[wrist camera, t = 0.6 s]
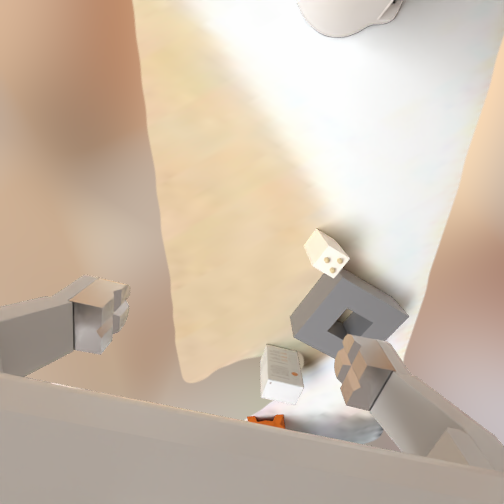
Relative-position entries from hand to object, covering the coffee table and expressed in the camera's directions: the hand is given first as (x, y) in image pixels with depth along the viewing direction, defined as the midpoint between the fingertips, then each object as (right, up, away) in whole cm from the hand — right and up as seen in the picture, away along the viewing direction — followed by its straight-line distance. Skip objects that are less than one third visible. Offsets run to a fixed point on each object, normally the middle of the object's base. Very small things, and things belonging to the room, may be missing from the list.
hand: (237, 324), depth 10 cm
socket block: (+20, -10, +48) cm, 53 cm away
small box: (+7, -23, +54) cm, 59 cm away
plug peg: (+14, +5, +42) cm, 45 cm away
